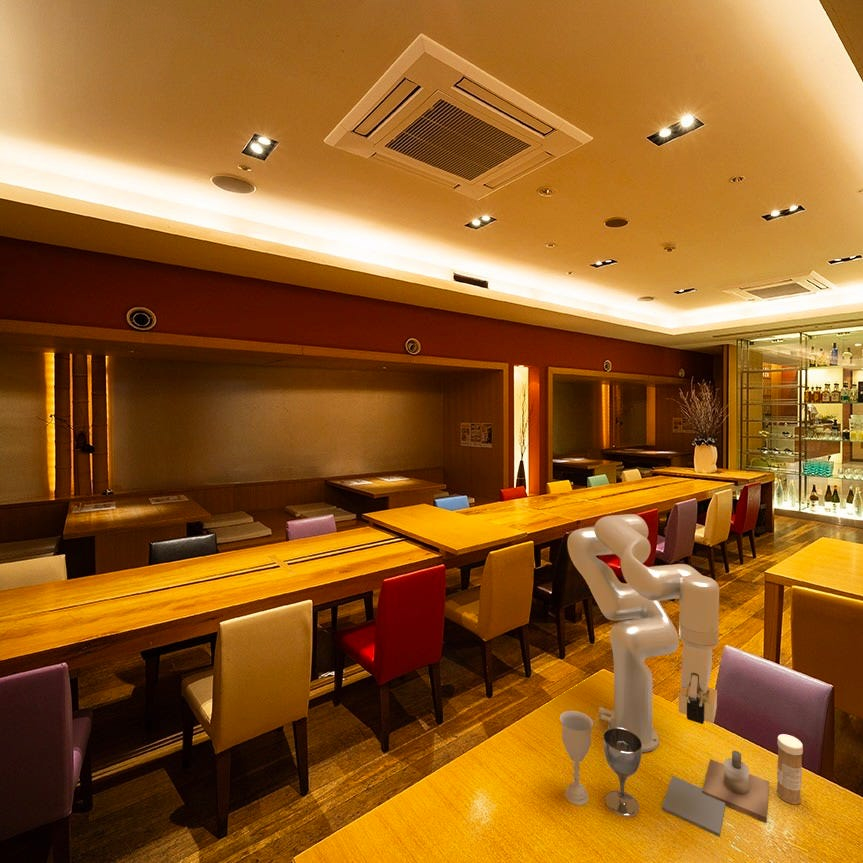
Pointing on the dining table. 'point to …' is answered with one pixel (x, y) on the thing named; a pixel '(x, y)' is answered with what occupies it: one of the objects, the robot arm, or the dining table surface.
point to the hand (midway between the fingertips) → (697, 711)
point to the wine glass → (622, 767)
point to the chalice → (576, 750)
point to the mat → (694, 805)
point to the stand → (737, 787)
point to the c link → (708, 702)
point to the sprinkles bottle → (789, 768)
